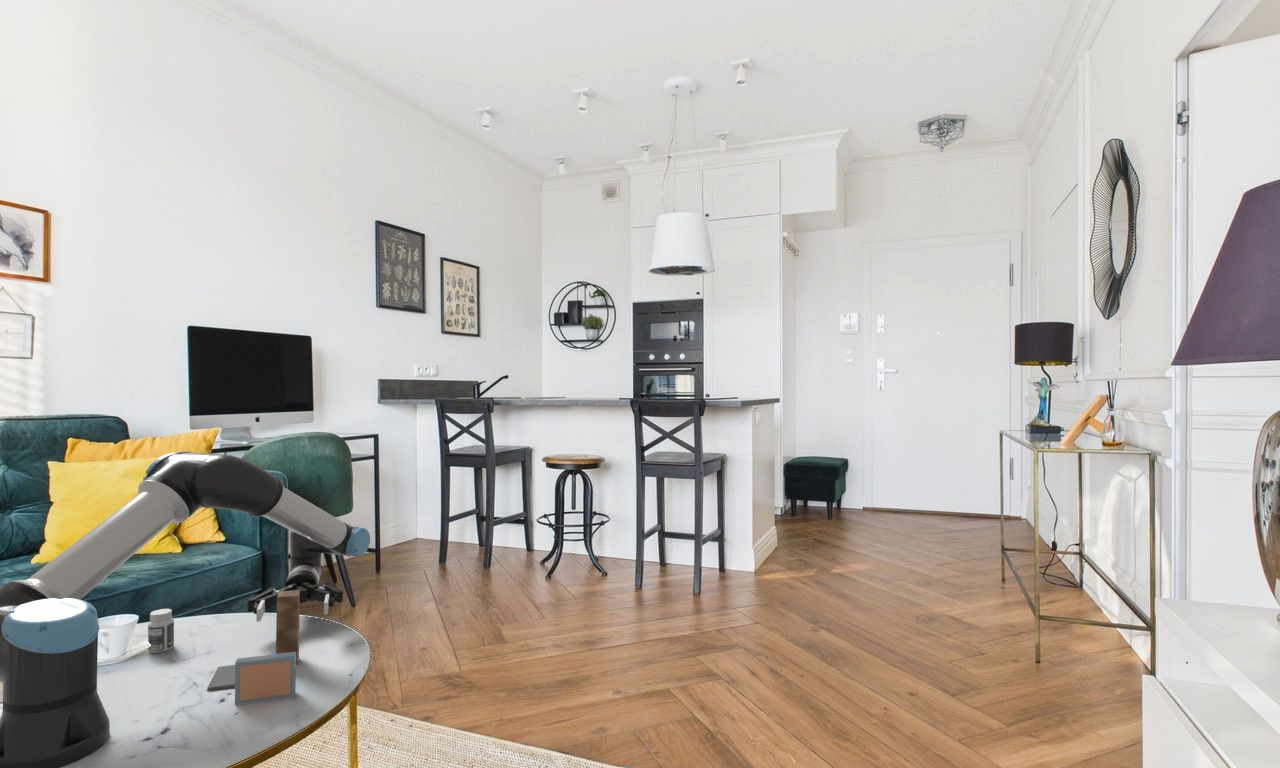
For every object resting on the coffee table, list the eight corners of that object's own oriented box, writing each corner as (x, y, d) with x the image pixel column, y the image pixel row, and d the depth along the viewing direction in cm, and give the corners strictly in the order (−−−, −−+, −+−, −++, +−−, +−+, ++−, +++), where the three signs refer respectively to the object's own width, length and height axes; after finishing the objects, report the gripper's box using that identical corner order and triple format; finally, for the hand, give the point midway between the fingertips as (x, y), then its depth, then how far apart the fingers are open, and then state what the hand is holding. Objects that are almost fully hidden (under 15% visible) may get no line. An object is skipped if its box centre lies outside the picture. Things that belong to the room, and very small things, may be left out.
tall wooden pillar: (275, 668, 141) (276, 597, 141) (278, 660, 145) (279, 591, 145) (296, 665, 143) (298, 595, 143) (298, 658, 147) (299, 589, 146)
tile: (234, 705, 125) (235, 663, 125) (236, 700, 127) (237, 658, 127) (294, 697, 129) (294, 656, 129) (295, 692, 131) (296, 651, 131)
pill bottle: (169, 643, 153) (170, 606, 153) (176, 648, 150) (177, 611, 150) (144, 649, 149) (145, 611, 149) (151, 655, 146) (152, 617, 146)
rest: (207, 690, 131) (207, 687, 131) (218, 669, 140) (218, 666, 140) (265, 683, 135) (265, 680, 135) (272, 663, 144) (272, 660, 144)
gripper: (354, 593, 176) (352, 621, 157) (245, 604, 167) (228, 635, 147) (355, 565, 176) (352, 589, 157) (246, 574, 167) (229, 601, 147)
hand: (292, 612), depth 152 cm, fingers open, 13 cm apart
